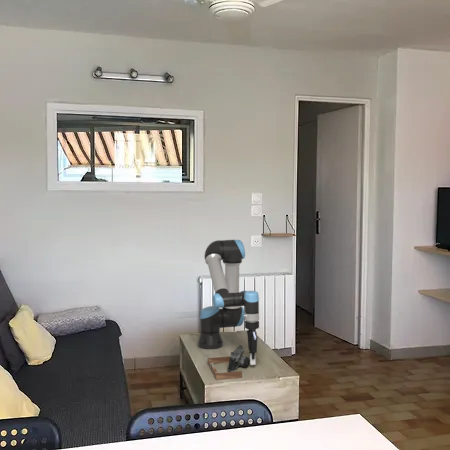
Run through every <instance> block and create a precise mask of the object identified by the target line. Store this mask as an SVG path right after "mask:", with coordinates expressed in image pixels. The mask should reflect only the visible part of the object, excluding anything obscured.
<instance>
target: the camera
mask: <svg viewBox="0 0 450 450" xmlns="http://www.w3.org/2000/svg"><path fill="white" fill-rule="evenodd" d="M244 353H245V349H244V348H243V345H239V346H236V348H235V349H234V350H233V351H232V352H230V355H229V356H230V360H229V363H228V365H227V372H236V370H237V369H238V368H239V367H242V368H245V369H246V368H249V365H250V357H249V356H243V355H244Z"/></svg>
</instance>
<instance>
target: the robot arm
mask: <svg viewBox="0 0 450 450" xmlns="http://www.w3.org/2000/svg"><path fill="white" fill-rule="evenodd" d="M244 259H246V250H245V245H244V242H243V241H242V240H241V239H223V240H218V239H217V240H214V241H212V242H211V243H209V245H208V246H207V247H206V249H205V251H204V260H205V261H204V262H205V263H206V265H207V267H208V270H209V275H210V279H211V283H212V286H213V290H214V291H213V292H214V293H213V295H212V305H210V306H206V307H204V308H202V309H200V311H199V312H200V315H199V318H200V319H199V320H200V334H199V338H198V340H197V346H198V348H200V349H205V350H213V349H219V348H222V347H223V346H224V342H223V341H224V340H223V338H222V335H221V332H220V331H221V330H220V329H222V328H236V327H241V326H242V325H243V324H244V328H245V330H247V331H246V335H247V348H248V350H249V351H248V354H249V358H250V362H249V365H250V366H254V365H255V366H256V353H257V349H258V348H257V347H258V338H259V337H258V336H257V334H258V333H257V329H260V321H259V320H260V303H259V302H260V297H259V296H260V295H259V292H258V291H255V290H241V291H240V265H241V264H242V262H243V260H244ZM221 261H222V262H221ZM222 263H223V265H225V266H224V270H223V266H222Z"/></svg>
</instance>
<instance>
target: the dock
mask: <svg viewBox="0 0 450 450" xmlns="http://www.w3.org/2000/svg"><path fill="white" fill-rule="evenodd" d="M229 360H230V355H229V356H219V357H208V358H207V365H208V367H209V369H210V370H211V372H212V374H213V377H214V379H215V380H216V381H220V380H231V379H232V380H233V379H241V378H243V371H241V370H240V371H236V370H235V371H234V372H230V371H226V372H218V371H217V368H216V367H215V364H226V363H228V364H229Z"/></svg>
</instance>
